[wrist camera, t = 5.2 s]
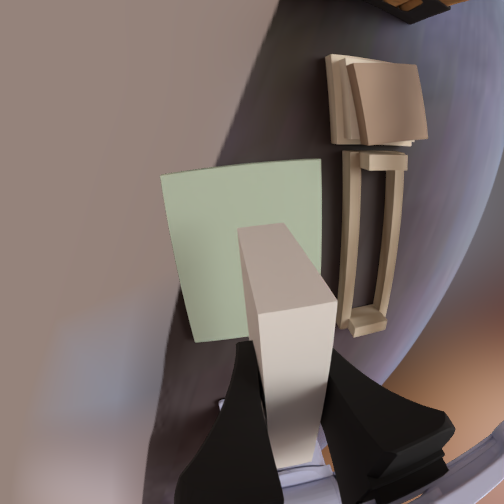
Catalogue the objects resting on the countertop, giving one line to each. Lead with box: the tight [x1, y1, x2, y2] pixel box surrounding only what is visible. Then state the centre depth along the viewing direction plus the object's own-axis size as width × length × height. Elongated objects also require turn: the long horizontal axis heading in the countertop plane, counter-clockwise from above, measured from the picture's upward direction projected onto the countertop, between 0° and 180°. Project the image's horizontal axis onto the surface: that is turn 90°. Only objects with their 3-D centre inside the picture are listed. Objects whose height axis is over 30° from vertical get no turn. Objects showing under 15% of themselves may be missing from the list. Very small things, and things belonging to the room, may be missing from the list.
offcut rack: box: [325, 54, 428, 337], centre depth 18 cm, size 6×20×3 cm, turn 5°
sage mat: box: [160, 158, 322, 343], centre depth 20 cm, size 10×13×1 cm
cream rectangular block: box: [237, 223, 338, 469], centre depth 12 cm, size 2×10×6 cm, turn 4°
